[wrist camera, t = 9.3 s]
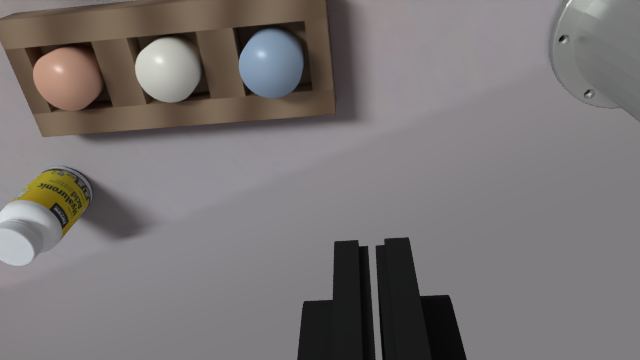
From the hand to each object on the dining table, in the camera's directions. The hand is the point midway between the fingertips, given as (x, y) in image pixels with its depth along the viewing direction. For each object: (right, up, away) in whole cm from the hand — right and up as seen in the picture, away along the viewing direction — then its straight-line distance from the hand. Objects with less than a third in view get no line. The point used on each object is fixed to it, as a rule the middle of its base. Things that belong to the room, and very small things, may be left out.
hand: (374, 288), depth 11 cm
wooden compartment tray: (-13, +13, +30) cm, 36 cm away
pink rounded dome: (-22, +12, +30) cm, 39 cm away
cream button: (-13, +12, +29) cm, 35 cm away
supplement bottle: (-27, +2, +38) cm, 47 cm away
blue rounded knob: (-5, +13, +28) cm, 31 cm away
